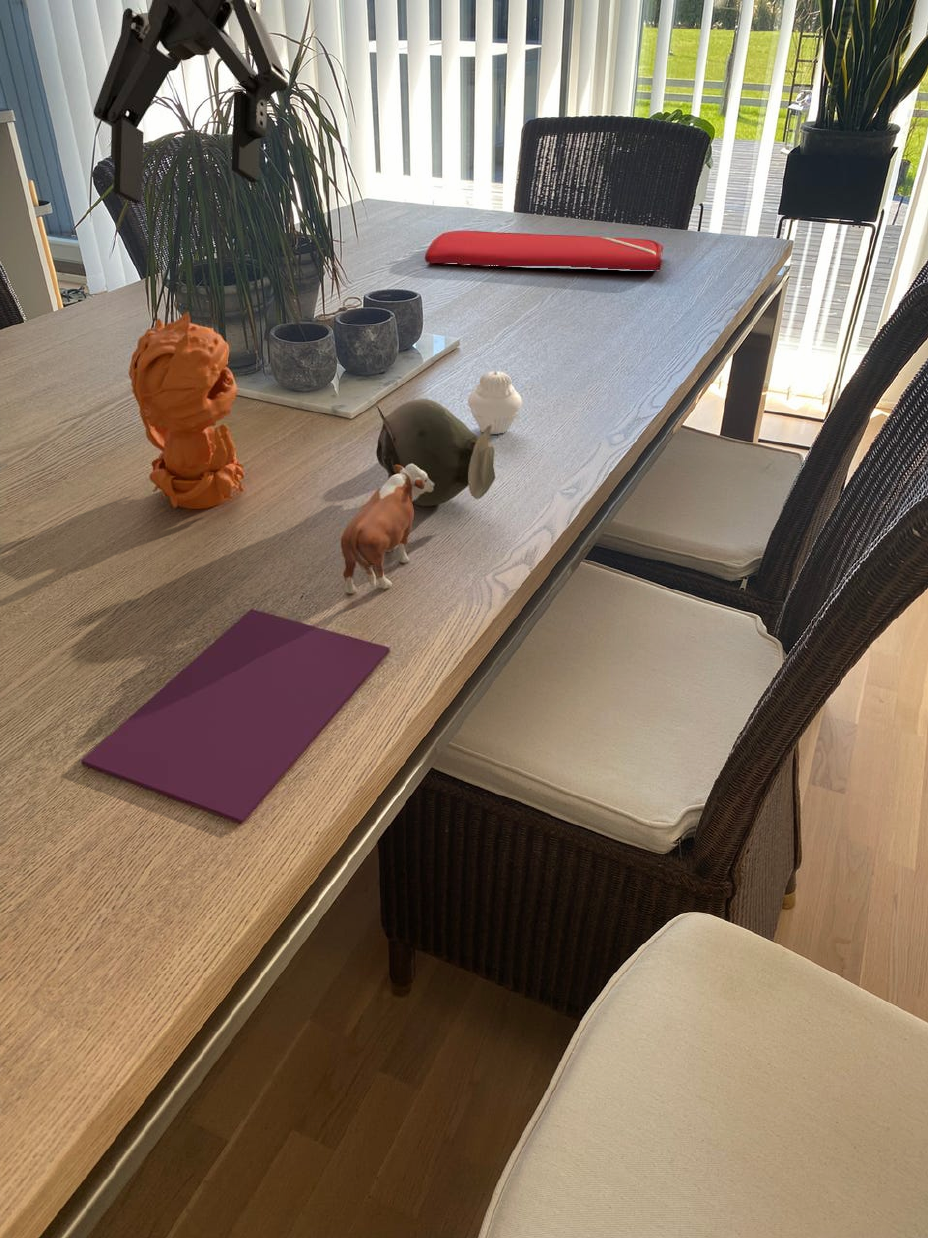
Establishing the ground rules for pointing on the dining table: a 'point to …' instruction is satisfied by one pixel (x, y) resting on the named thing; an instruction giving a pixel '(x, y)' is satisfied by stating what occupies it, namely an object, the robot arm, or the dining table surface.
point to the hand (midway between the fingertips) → (184, 187)
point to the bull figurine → (383, 525)
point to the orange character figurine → (187, 412)
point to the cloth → (238, 714)
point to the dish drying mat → (544, 250)
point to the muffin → (494, 402)
